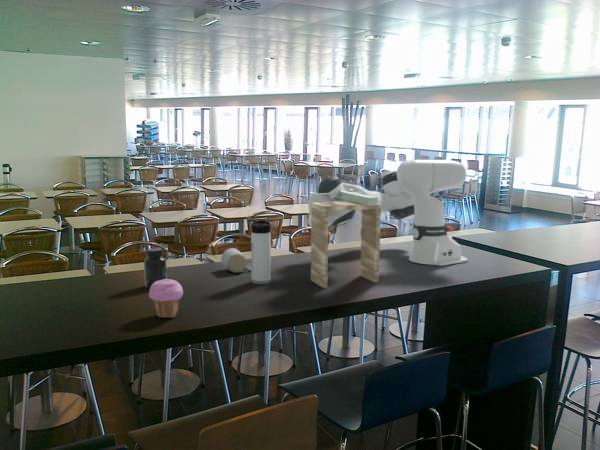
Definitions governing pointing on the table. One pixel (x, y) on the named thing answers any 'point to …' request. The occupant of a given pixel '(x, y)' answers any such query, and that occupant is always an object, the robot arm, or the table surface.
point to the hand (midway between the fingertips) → (345, 191)
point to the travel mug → (261, 252)
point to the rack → (368, 239)
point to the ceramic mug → (235, 261)
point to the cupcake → (166, 297)
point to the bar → (358, 198)
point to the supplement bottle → (154, 267)
